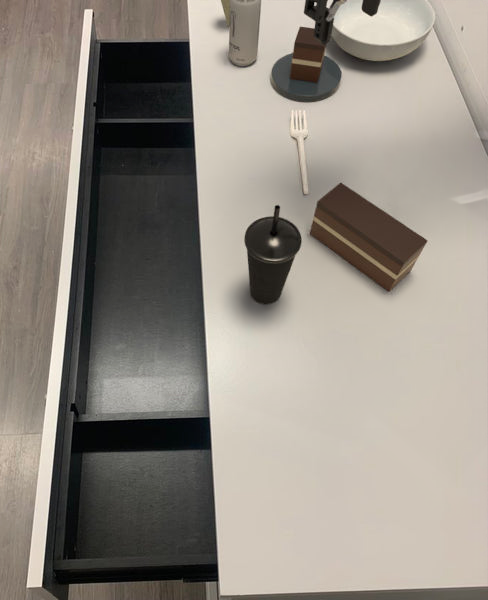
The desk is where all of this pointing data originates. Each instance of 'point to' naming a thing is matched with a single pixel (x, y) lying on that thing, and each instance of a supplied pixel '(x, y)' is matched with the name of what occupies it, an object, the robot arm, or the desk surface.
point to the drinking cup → (270, 255)
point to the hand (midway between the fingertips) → (345, 27)
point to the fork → (300, 143)
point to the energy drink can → (244, 31)
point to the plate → (305, 89)
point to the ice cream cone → (226, 10)
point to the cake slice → (307, 56)
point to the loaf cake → (366, 236)
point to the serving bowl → (383, 28)
